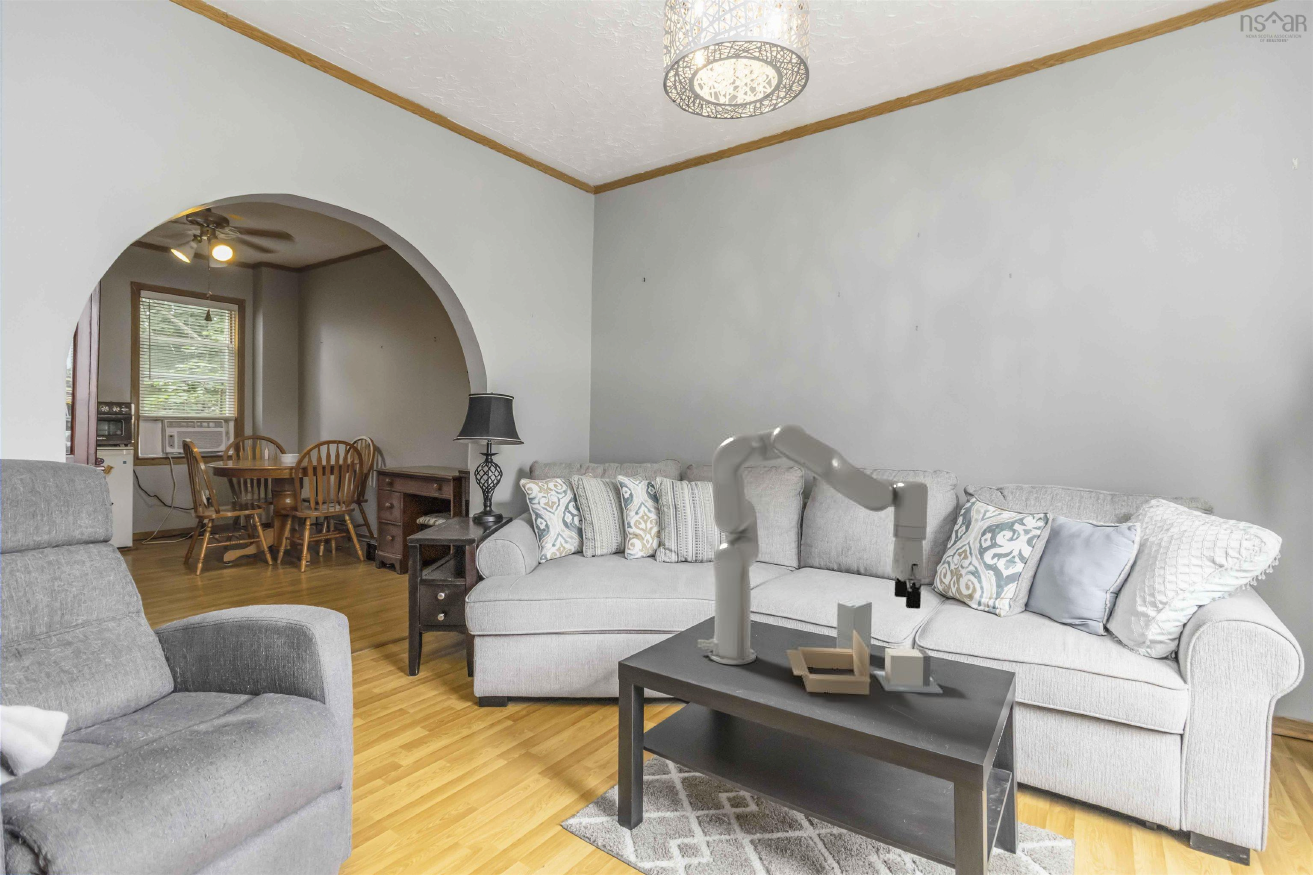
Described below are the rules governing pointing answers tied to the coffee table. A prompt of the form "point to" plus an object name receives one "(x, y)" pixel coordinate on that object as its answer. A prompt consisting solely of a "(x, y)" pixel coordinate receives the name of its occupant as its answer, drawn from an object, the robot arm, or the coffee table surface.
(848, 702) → the coffee table surface
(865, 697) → the coffee table surface
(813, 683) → the carton
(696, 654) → the coffee table surface
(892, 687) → the felt mat
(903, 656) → the box
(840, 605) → the skincare box
